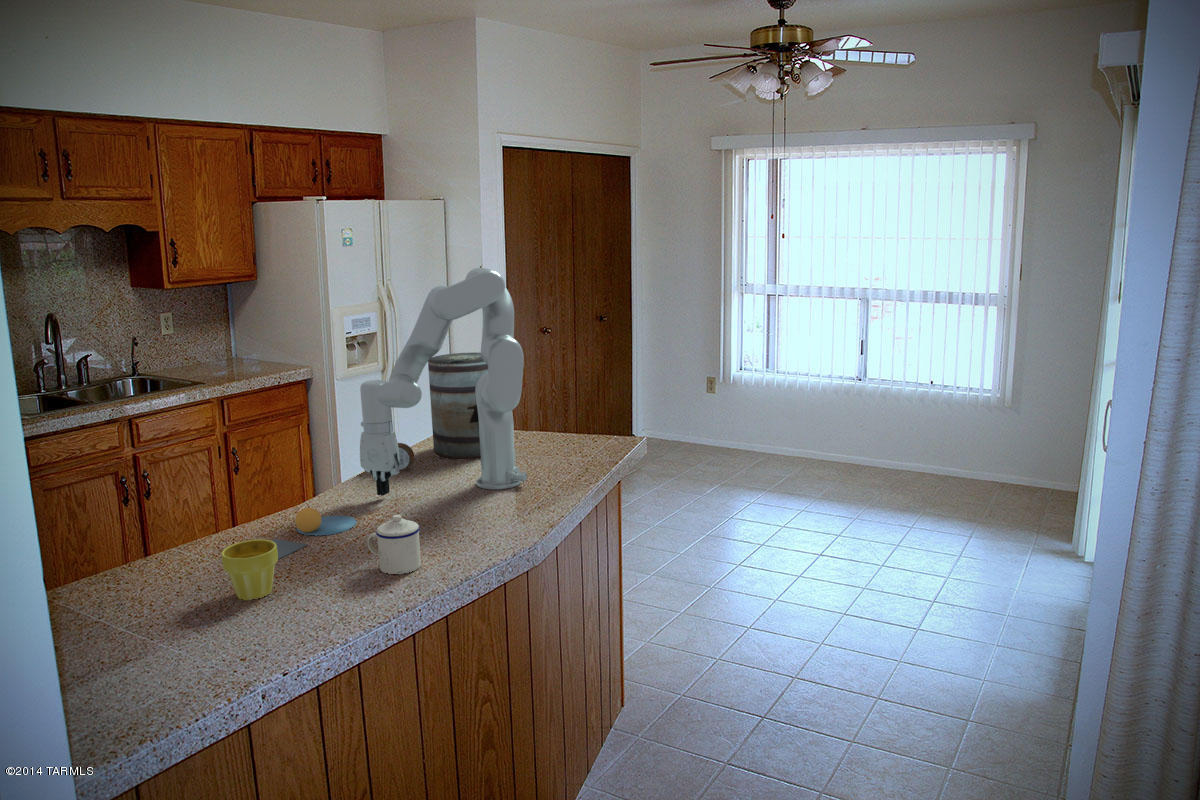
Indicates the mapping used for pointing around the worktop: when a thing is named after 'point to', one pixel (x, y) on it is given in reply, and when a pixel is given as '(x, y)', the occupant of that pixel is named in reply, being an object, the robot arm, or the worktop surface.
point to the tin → (405, 456)
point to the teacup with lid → (397, 546)
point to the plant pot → (251, 567)
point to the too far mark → (287, 547)
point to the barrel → (455, 404)
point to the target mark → (332, 525)
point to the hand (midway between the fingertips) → (383, 493)
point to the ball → (308, 520)
